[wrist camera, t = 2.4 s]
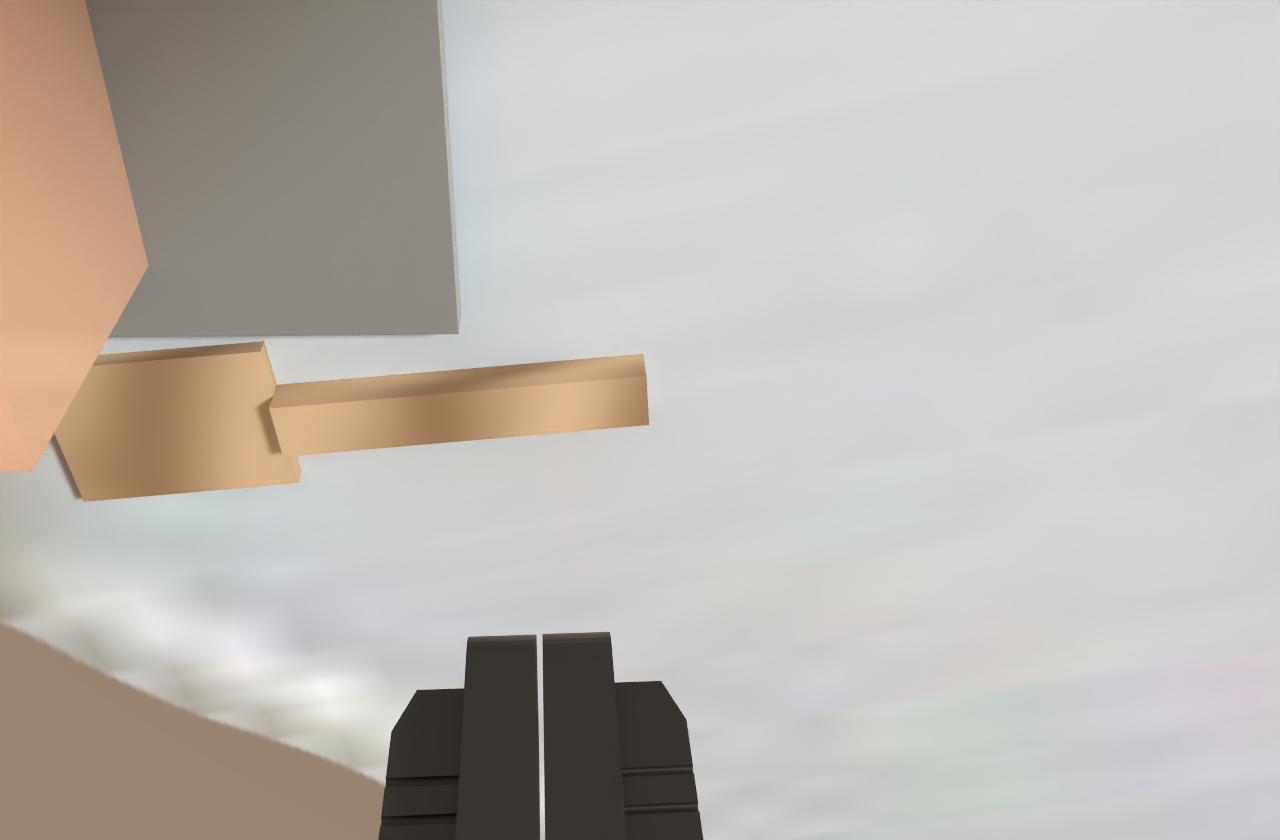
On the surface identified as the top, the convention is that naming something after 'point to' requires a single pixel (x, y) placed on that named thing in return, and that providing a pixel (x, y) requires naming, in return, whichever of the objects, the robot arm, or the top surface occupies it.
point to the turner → (309, 415)
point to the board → (284, 165)
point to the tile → (56, 220)
